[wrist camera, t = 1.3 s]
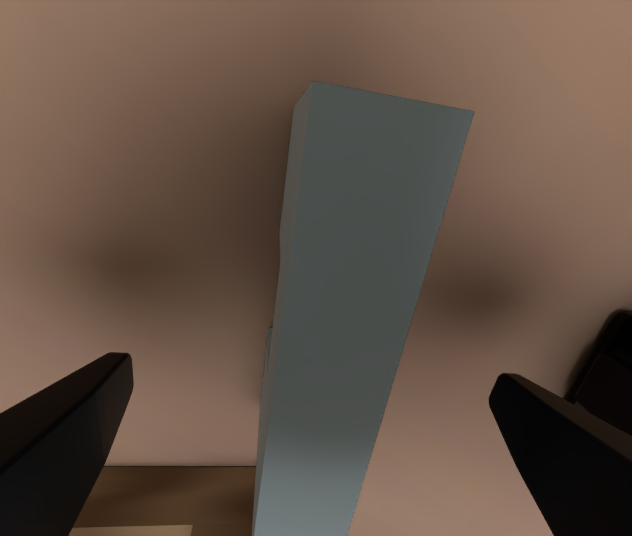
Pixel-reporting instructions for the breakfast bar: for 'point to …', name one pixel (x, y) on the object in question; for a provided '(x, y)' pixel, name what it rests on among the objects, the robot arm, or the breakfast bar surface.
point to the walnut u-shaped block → (169, 502)
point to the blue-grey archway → (345, 293)
